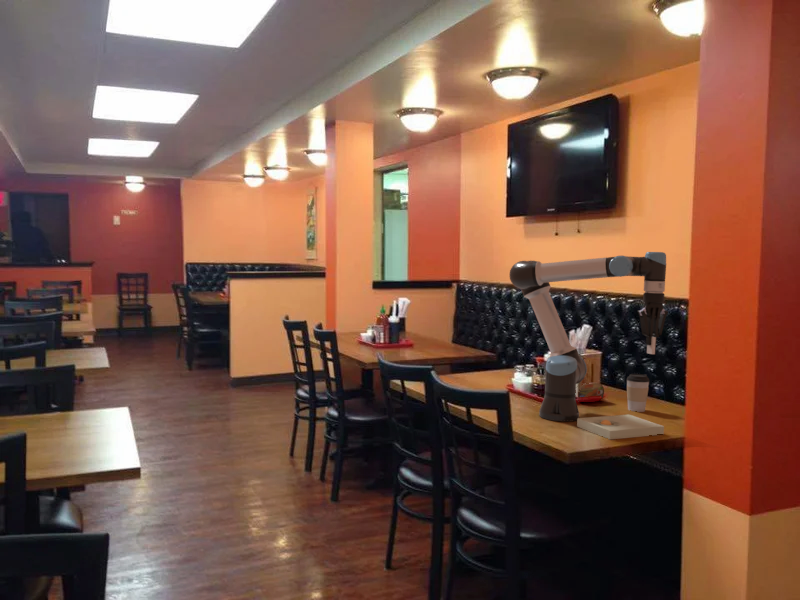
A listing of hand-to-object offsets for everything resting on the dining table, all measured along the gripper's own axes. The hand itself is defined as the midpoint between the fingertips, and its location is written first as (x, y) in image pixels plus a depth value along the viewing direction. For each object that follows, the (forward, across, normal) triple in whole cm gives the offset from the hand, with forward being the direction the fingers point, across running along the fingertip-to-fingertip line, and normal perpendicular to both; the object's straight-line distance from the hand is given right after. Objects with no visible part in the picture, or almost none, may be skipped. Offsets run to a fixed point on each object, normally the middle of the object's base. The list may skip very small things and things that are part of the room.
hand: (650, 353), depth 251 cm
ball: (+24, -26, -8) cm, 36 cm away
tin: (+27, 0, +35) cm, 44 cm away
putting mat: (+27, -20, -8) cm, 34 cm away
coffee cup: (+27, +10, +17) cm, 33 cm away
